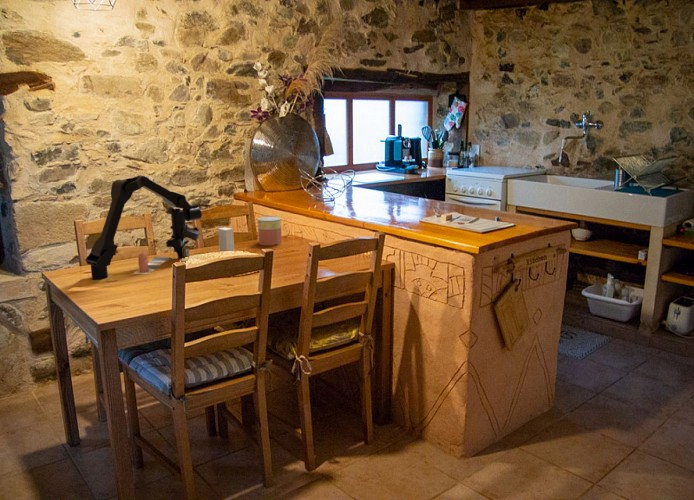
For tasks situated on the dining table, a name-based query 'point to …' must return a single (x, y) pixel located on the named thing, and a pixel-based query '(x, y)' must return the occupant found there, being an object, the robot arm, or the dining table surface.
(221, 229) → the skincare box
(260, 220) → the canned food
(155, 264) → the track board
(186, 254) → the die
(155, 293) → the dining table surface
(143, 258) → the pink upright cylinder
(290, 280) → the dining table surface
